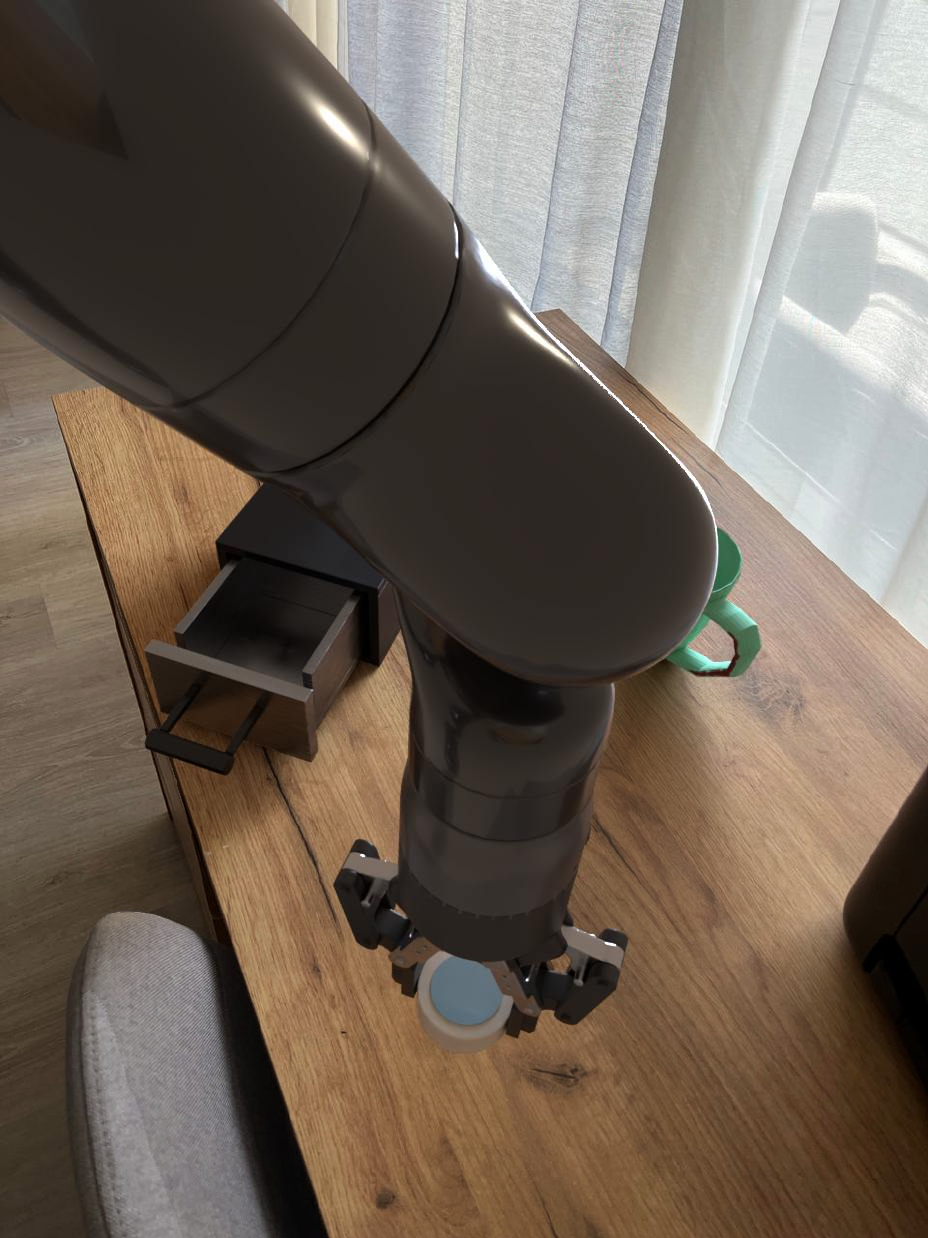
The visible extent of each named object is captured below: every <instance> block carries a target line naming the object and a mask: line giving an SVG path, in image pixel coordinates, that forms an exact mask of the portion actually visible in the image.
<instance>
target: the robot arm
mask: <svg viewBox="0 0 928 1238" xmlns="http://www.w3.org/2000/svg"><path fill="white" fill-rule="evenodd" d="M0 318H2V319H3V320H5V321H6V322H8V323H9V324H11V326H13V327H15V328H16V329H17V330H19V331H20V332H21V333H23V334H24V335H26V336H27V337H28V338H30V339H31V340H33V341H34V342H36V343H38V344H39V345H40V346H42V347H43V348H45V349H46V350H48V351H50V352H51V353H52V354H54V355H55V356H56V357H58V358H59V359H61V360H63V361H64V362H65V363H67V364H69V365H70V366H72V367H73V368H74V369H76V370H78V371H79V372H81V373H82V374H84V375H85V376H88V377H89V378H90V379H91V380H93V381H95V382H97V383H98V384H99V385H101V386H102V387H104V388H106V389H107V390H108V391H110V392H112V393H113V394H115V395H117V396H118V397H119V398H121V399H123V400H124V401H126V402H128V403H129V404H131V405H132V406H133V407H135V408H137V409H138V410H140V411H142V413H145V414H147V415H149V417H151V418H153V419H155V420H156V421H158V422H160V423H161V424H162V425H164V426H167V427H168V428H170V429H171V430H172V431H174V432H176V433H178V435H181V436H183V437H184V438H186V439H187V440H189V441H191V442H193V443H194V444H196V445H197V446H199V447H201V448H202V449H204V450H206V452H209V453H210V454H212V455H214V456H215V457H217V459H220V460H222V461H223V462H225V463H226V464H228V465H230V466H232V467H234V468H235V469H236V470H239V471H240V472H242V473H243V474H246V475H247V476H249V477H251V478H253V479H255V480H257V481H259V482H261V483H262V484H263V483H264V484H266V485H268V486H270V487H272V488H274V489H276V490H278V491H280V492H282V493H284V494H285V495H287V496H288V497H290V498H291V499H293V500H295V501H296V502H298V503H299V504H300V505H302V506H303V507H305V508H306V509H307V510H309V511H310V512H311V513H312V514H313V515H315V516H316V517H317V518H318V519H320V520H321V521H322V522H323V523H324V524H326V525H327V526H328V527H329V528H330V529H331V530H333V531H334V532H335V533H336V534H337V535H338V536H339V537H340V538H341V539H343V540H344V541H345V542H346V543H347V544H348V545H349V546H350V547H351V548H352V549H353V550H354V551H355V552H356V553H357V554H358V555H359V556H360V557H361V558H362V559H363V560H364V561H365V562H366V563H367V564H369V565H370V566H371V567H372V568H373V569H374V570H375V571H376V572H377V573H378V574H380V575H381V576H382V577H383V578H384V579H385V580H387V581H388V582H389V583H390V584H391V585H392V590H393V595H394V600H395V605H396V610H397V615H398V620H399V624H400V629H401V630H400V632H401V636H402V639H403V644H404V648H405V652H406V656H407V660H408V665H409V671H410V678H411V690H410V700H409V709H408V733H407V734H408V735H407V736H408V737H407V757H406V761H405V766H404V769H403V773H402V778H401V783H400V791H399V792H400V793H399V814H398V815H399V817H398V818H399V819H398V825H399V826H398V853H397V854H398V855H397V856H398V858H397V859H398V860H397V862H391V861H389V860H387V859H381V856H380V854H379V850H378V848H377V846H376V845H374V843H372V842H371V841H368V840H367V839H364V838H363V839H362V838H357V839H355V840H354V841H353V844H352V846H351V848H350V850H349V852H348V854H347V856H346V858H345V859H344V861H343V863H342V865H341V867H340V870H339V871H338V873H337V875H336V877H335V880H334V881H333V882H332V887H333V889H334V891H335V892H334V893H335V894H336V896H337V899H338V901H339V904H340V906H341V908H342V911H343V914H344V915H345V919H346V921H347V923H348V925H349V928H350V930H351V933H352V935H353V937H354V940H355V942H356V943H357V944H358V945H359V946H361V947H362V948H365V949H367V950H371V951H372V950H373V951H375V950H377V949H378V947H379V946H380V947H382V948H384V949H385V950H387V951H388V953H389V954H388V960H389V961H390V962H391V978H392V980H393V981H394V982H395V983H396V984H399V985H400V994H401V995H403V996H405V997H408V998H410V999H414V998H416V995H417V983H418V978H419V976H420V973H421V971H422V968H423V966H424V964H425V963H426V961H427V960H428V959H430V958H431V957H432V956H434V955H435V954H436V953H438V952H439V951H441V952H443V951H444V952H446V953H448V954H451V955H453V956H455V957H458V958H462V959H465V960H470V961H476V962H478V963H480V964H482V965H483V966H484V967H485V968H487V969H490V971H491V973H492V975H493V977H494V979H495V981H496V983H497V985H498V987H499V989H500V991H501V993H502V994H503V995H507V996H512V998H513V1000H514V1002H513V1005H512V1008H511V1012H510V1016H509V1021H508V1025H507V1029H506V1033H505V1034H504V1035H506V1036H509V1037H511V1038H514V1039H517V1040H519V1038H520V1033H521V1031H522V1032H524V1033H526V1034H532V1033H534V1032H535V1031H536V1029H537V1025H538V1021H539V1018H540V1016H541V1015H542V1012H543V1011H553V1017H554V1018H555V1019H556V1021H559V1022H560V1023H562V1024H564V1025H569V1026H577V1025H578V1024H579V1023H581V1021H583V1020H584V1019H585V1018H586V1017H587V1016H588V1015H589V1014H591V1013H592V1012H593V1011H595V1009H597V1007H598V1006H600V1005H601V1004H602V1003H603V1002H604V1001H605V1000H606V999H607V998H609V997H610V996H611V995H612V994H614V992H615V991H616V990H617V988H618V983H619V980H620V975H621V973H622V972H621V971H622V968H623V966H624V965H623V964H624V960H625V956H626V951H627V947H628V943H629V936H628V935H627V934H626V933H625V932H623V931H622V930H619V929H616V928H611V927H610V928H604V929H603V930H602V931H601V932H600V933H599V934H598V935H597V936H596V935H595V934H593V933H588V932H585V931H584V930H582V929H580V928H577V927H575V926H574V924H575V922H574V916H573V914H572V913H571V911H570V910H569V907H568V906H569V902H570V900H571V896H572V892H573V889H574V885H575V883H576V878H577V875H578V871H579V868H580V864H581V861H582V857H583V854H584V850H585V846H587V844H588V842H589V841H590V837H591V832H592V821H593V814H594V805H595V786H596V781H597V778H598V774H599V770H600V767H601V763H602V760H603V756H604V753H605V749H606V747H607V743H608V739H609V737H610V732H611V728H612V723H613V719H614V718H613V717H614V712H615V711H614V710H615V700H616V689H615V683H619V682H622V681H624V680H628V679H630V678H632V677H634V676H637V675H639V674H641V673H643V672H645V671H646V670H648V669H651V668H652V667H653V666H655V665H657V664H659V662H661V661H663V660H662V659H664V658H665V657H666V656H667V655H668V654H670V653H671V652H672V651H673V650H674V649H675V648H676V647H677V646H678V645H679V644H680V643H681V642H682V641H683V640H684V639H685V637H686V636H687V635H688V634H689V633H690V631H691V630H692V628H693V627H694V626H695V624H696V623H697V621H698V620H699V618H700V616H701V614H702V613H703V611H704V609H705V607H706V604H707V602H708V600H709V597H710V594H711V591H712V589H713V585H714V581H715V577H716V571H717V564H718V537H717V530H716V526H717V524H716V521H715V520H716V519H715V516H714V513H713V510H712V507H711V504H710V502H709V500H708V498H707V495H706V494H705V491H704V490H703V488H702V487H701V485H700V484H699V482H698V480H697V479H696V478H695V477H694V476H693V474H692V473H691V472H690V471H689V470H688V468H687V467H686V466H685V465H684V464H683V463H682V462H681V461H680V460H679V459H678V458H677V457H676V456H675V455H674V454H673V453H672V452H671V451H670V450H669V449H668V448H667V447H666V446H665V444H663V443H662V442H661V441H660V440H659V439H658V438H657V437H656V435H655V434H654V433H653V432H651V430H650V429H648V427H647V426H646V425H645V424H644V423H642V421H641V420H640V419H639V418H637V416H636V415H635V414H634V413H632V411H631V410H629V408H628V407H626V405H624V404H623V402H622V401H621V400H620V399H619V398H618V397H616V395H614V393H613V392H611V390H609V389H608V388H607V387H606V386H605V385H604V384H603V383H602V382H601V381H600V380H599V378H597V377H596V376H595V375H594V374H593V373H592V372H591V371H590V370H589V369H588V368H587V367H586V366H585V365H584V364H583V363H582V362H581V361H580V360H579V359H578V358H577V357H576V356H574V355H573V354H572V353H571V352H570V351H569V350H568V348H566V347H565V346H564V345H563V344H562V343H560V341H559V340H558V339H556V337H554V336H553V334H551V332H549V330H547V328H546V327H545V326H544V325H543V324H542V323H541V322H540V321H539V320H538V318H537V317H536V316H535V314H533V313H532V311H530V309H529V308H528V307H527V305H526V304H525V303H524V302H523V300H522V298H521V297H520V296H519V295H518V293H517V292H516V291H515V290H514V288H513V287H512V286H511V285H510V283H509V282H508V280H507V279H506V278H505V276H504V275H503V274H502V272H501V270H499V268H498V266H497V265H496V264H495V262H494V261H493V259H492V258H491V257H490V256H489V254H488V253H487V251H486V249H485V248H484V247H483V245H482V244H481V241H479V240H478V238H477V237H476V235H475V233H474V232H473V230H472V229H471V228H470V226H469V225H468V223H467V222H466V221H465V220H464V218H463V217H462V216H461V214H460V212H458V211H457V209H456V208H455V207H454V205H453V204H452V203H451V202H450V201H449V199H448V198H447V197H446V196H445V195H444V194H443V192H441V190H440V189H439V188H438V187H437V185H436V184H435V183H434V182H433V181H432V180H431V179H430V177H429V176H428V175H427V174H426V172H425V171H424V170H423V168H421V166H419V164H418V163H417V162H416V160H414V158H413V157H412V156H411V155H410V154H409V153H408V151H407V150H406V148H404V147H403V145H402V144H401V143H400V142H399V140H398V139H397V138H396V137H395V136H394V135H393V133H392V132H391V131H390V130H389V129H388V128H387V126H386V125H385V124H384V123H383V122H382V121H381V120H380V118H379V117H378V116H377V115H376V114H375V112H374V111H373V110H372V109H371V108H370V106H368V104H367V103H366V102H365V100H364V99H362V97H361V96H360V95H359V94H358V92H357V91H356V90H355V88H354V87H353V86H352V85H351V84H350V82H349V81H348V80H347V79H346V78H345V77H344V76H343V75H342V73H341V72H340V71H339V70H338V69H337V68H336V67H335V66H334V64H333V63H332V62H331V61H330V60H329V59H328V58H327V57H326V55H325V54H324V53H323V52H322V51H321V50H320V49H319V48H318V47H317V45H316V44H315V43H314V42H313V41H312V40H311V39H310V38H309V36H308V35H307V34H306V33H305V32H304V31H303V30H302V29H301V28H300V27H299V26H298V24H297V23H296V22H295V21H294V20H293V19H292V18H291V16H289V14H288V13H287V12H286V11H285V10H284V9H283V8H282V6H281V5H280V4H279V3H278V2H277V1H276V0H0ZM664 660H665V659H664ZM396 907H398V908H399V909H400V910H401V911H402V912H403V914H405V916H404V915H403V914H401V913H399V912H397V911H395V909H396ZM563 955H566V956H567V957H568V958H569V959H570V962H569V964H568V966H567V967H566V971H565V972H561V971H555V966H554V964H553V962H552V961H554V960H557V959H559V958H561V957H562V956H563Z"/></svg>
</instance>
